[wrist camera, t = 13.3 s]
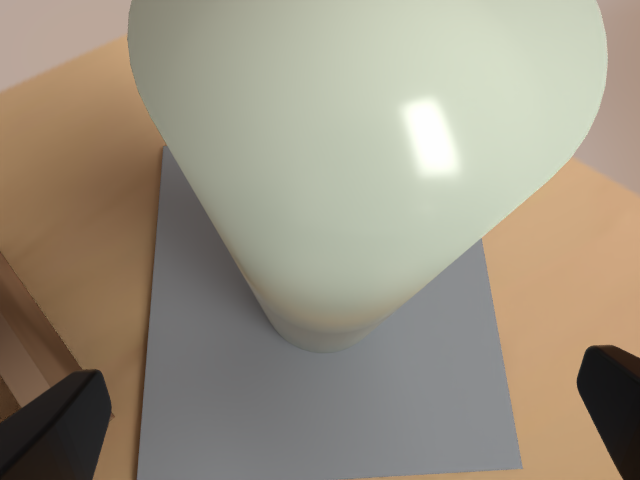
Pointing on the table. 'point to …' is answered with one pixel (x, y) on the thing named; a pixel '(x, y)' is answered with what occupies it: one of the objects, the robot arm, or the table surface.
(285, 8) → the green bottle
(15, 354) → the brown square open box
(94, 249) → the table surface
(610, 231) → the table surface
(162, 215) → the mat
